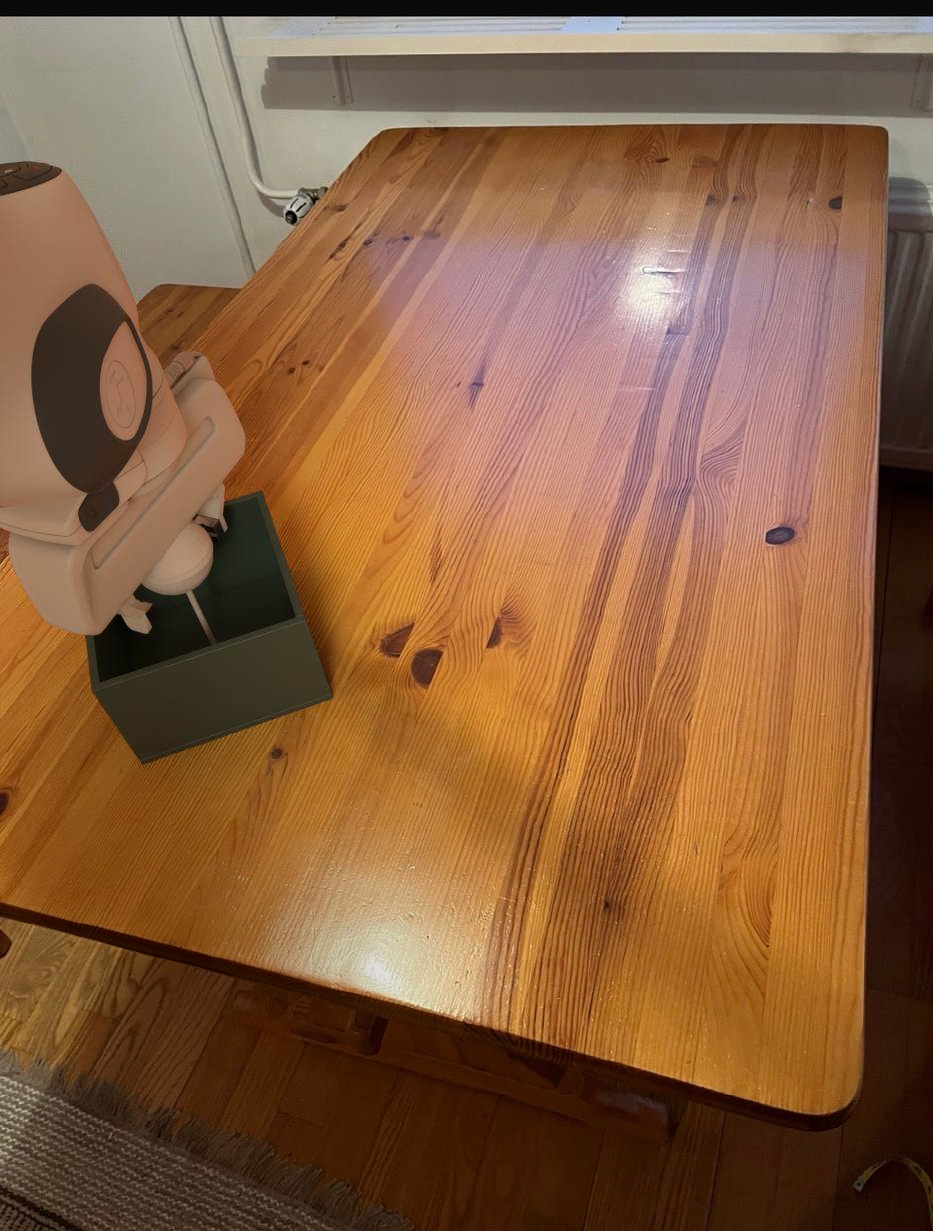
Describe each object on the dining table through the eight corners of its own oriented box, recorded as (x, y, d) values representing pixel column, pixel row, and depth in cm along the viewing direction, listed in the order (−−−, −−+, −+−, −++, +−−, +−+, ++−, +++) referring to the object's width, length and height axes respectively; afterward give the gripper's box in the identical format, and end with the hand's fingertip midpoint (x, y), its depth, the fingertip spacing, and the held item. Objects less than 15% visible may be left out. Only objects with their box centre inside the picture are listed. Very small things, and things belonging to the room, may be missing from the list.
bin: (333, 698, 73) (305, 620, 66) (142, 765, 71) (91, 691, 63) (290, 570, 83) (262, 489, 75) (120, 625, 80) (74, 547, 73)
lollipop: (169, 677, 75) (96, 547, 64) (204, 622, 79) (140, 490, 67) (237, 692, 73) (174, 562, 62) (269, 636, 77) (215, 503, 66)
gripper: (160, 331, 65) (218, 480, 76) (-38, 526, 54) (64, 671, 64) (236, 342, 63) (285, 494, 74) (49, 548, 52) (139, 694, 62)
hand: (181, 578), depth 69 cm, fingers open, 8 cm apart
